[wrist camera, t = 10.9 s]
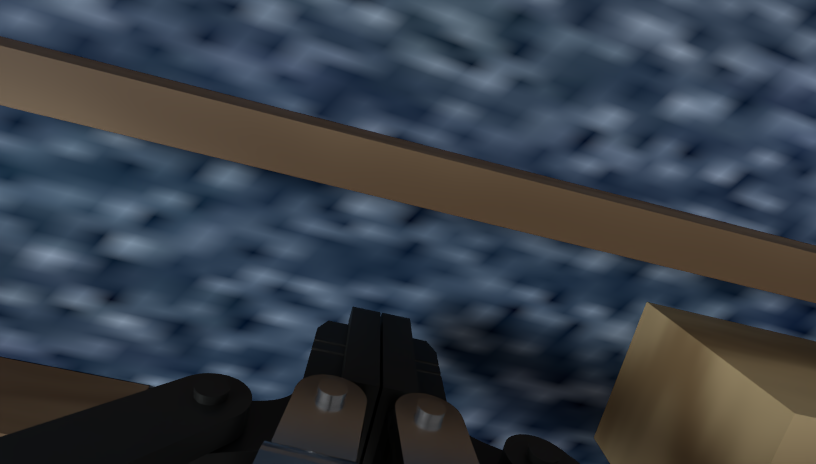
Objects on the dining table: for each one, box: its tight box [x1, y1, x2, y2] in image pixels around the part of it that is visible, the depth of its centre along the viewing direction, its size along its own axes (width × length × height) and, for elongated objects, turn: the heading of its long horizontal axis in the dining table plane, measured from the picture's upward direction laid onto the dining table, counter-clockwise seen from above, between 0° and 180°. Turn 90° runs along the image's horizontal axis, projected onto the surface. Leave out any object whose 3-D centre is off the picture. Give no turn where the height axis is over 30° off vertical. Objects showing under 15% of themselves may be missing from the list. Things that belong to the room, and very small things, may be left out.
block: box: [594, 302, 816, 464], centre depth 14 cm, size 5×8×6 cm, turn 76°
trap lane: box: [0, 36, 816, 437], centre depth 15 cm, size 17×29×3 cm, turn 76°
